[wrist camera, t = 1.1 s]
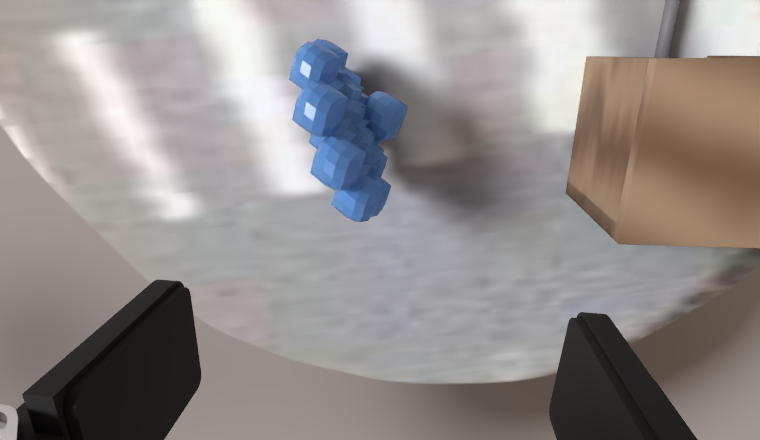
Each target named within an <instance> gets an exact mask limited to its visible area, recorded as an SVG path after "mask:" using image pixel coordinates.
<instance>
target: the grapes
mask: <svg viewBox="0 0 760 440" xmlns="http://www.w3.org/2000/svg"><path fill="white" fill-rule="evenodd" d="M347 56H348V53H346V52H345V51H344V50H342V49H341V48H339V47H338V46H336V45H335V44H333V43H331V42H329V41H327V40H322V39H317V40H315V41H314V42H307V43H306V44H304V45H303V46H301V47H300V48H299V49H298V51H297V53H296V55H295V57H294V59H293V64H292V69H291V74H290V79H289V80H291V81H292V82H293V83H294V84H296V85H297V86H298V87H300V88H302V89H301V91H300V94H299V96H298V98H297V101H296V105H295V110H294V115H293V119H292V120H293V121H295V122H296V123H297V124H298V125H299V126H301V127H302V128H303V129H305V130H306V131H308V132H310V133H311V137H310V141H309V143H310V144H311V145H313V146H314V147H315V148H316V149H317V151H316V154H315V156H314V160H313V163H312V168H311V172H310V173H311V174H312V175H314V176H315V177H316V178H317V179H318V180H320V181H321V182H322V183H323V184H324V185H326V186H328V187H330V188H332V189H333V190H335V193H334V196H333V200H332V204H331V205H333V206H334V207H335V208H336V209H337V210H338V211H340V212H341V213H342V214H343V215H344V216H345V217H347V218H349V219H351V220H353V221H356V222H363V221H368V220H369V219H370V217H372V216H377V215H378V214H379V212H380V211H381V210H382V208H383V207H384V205H385V203H386V200H387V197H388V194H389V191H390V188H391V185H390V184H388V183H387V182H386V181H385V180H383V179H382V178H381V176H382V173H383V170H384V168H385V165H386V161H387V158H388V157H386V156H385V155H384V154H383V153H384V149H382V148H381V147H380V146H381V143H382V140H390V139H393V137H394V136H395V135H396V134H397V133H398V131H399V129H400V127H401V125H402V122H403V119H404V117H405V113H406V110H407V106H406V105H405V104H403V103H402V102H401V101H399V100H398V99H396V98H394V97H393V96H391V95H389V94H387V93H385V92H380V91H376V92H374V93H372V94H371V95H370V96H367V95H366V94H364V93H363V92H362V91H363V89H364V87H363V86H361V85H360V84H361V80H362V78H361V77H359V76H358V75H357V74H356V73H354V72H352V71H351V70H349V69H348V68H346V67H345V64H346V60H347Z"/></svg>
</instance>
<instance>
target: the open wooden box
mask: <svg viewBox="0 0 760 440" xmlns="http://www.w3.org/2000/svg"><path fill="white" fill-rule="evenodd" d="M566 194H567V195H569V196H570V197H571V198H572V199H573V200H574V201H575V202H576V203H577V204H578V205H579V206H580V207H581V208H582V209H583V210H584V211H585V212H586V213H587V214H588V215H589V216H590V217H591V218H592V219H593V220H594V221H595V222H596V223H597V224H598V225H599V226H601V227H602V228H603V229H604V230H605V231H606V232H607V233H608V234H609V235H610V236H611V237H612V238H613V239H614V240H615V241H616V242H617V243H618V244H630V245H666V246H701V247H737V248H760V56H707V58H639V57H587V58H586V65H585V71H584V78H583V84H582V91H581V97H580V104H579V111H578V117H577V124H576V130H575V137H574V143H573V150H572V156H571V163H570V170H569V176H568V183H567V189H566Z"/></svg>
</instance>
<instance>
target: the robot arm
mask: <svg viewBox="0 0 760 440" xmlns="http://www.w3.org/2000/svg"><path fill="white" fill-rule="evenodd" d="M200 381H201V368H200V362H199V354H198V347H197V339H196V333H195V326H194V317H193V310H192V303H191V296H190V291H189V289H188V288H185V287H184V285H183V284H182V283H181V282H180V281H169V280H155V281H154V282H152V283H151V284H150V285H149V286H148V287H147V288H145V289H144V290H143V291H142V292H141V293H140V294H138V295H137V296H136V297H135V298H134V299H133V300H131V301H130V302H129V303H128V304H127V305H126V306H124V308H122V309H121V310H120V311H119V312H118V313H116V314H115V315H114V316H113V317H112V318H110V319H109V320H108V321H107V322H106V323H105V324H104V325H102V326H101V327H100V328H99V329H98V330H96V331H95V332H94V333H93V334H92V335H91V336H89V337H88V338H87V339H86V340H85V341H84V342H83V343H81V344H80V345H79V346H78V347H77V348H75V349H74V350H73V351H72V352H71V353H70V354H69V355H67V356H66V357H65V358H64V359H63V360H61V362H59V363H58V364H57V365H56V366H54V368H52V369H51V370H50V371H49V372H47V373H46V374H45V375H44V376H43V377H42V378H40V379H39V380H38V381H37V382H36V383H35V384H34V385H32V386H31V387H30V388H29V389H28V390H26V391H25V392H24V393H23V394H22V395H23V398H24V401H25V402H24V403H23V404H22V405H21V406H20V407H19V408H18V409H16V410H15V409H13V408H12V407H11V406H7V405H2V404H0V440H164V439H165V437H166V436H167V434H168V433H169V431H170V430H171V428H172V427H173V425H174V424H175V422H176V421H177V419H178V418H179V416H180V415H181V413H182V412H183V410H184V409H185V407H186V406H187V404H188V403H189V401H190V400H191V398H192V397H193V395H194V394H195V392H196V391H197V389H198V387H199V384H200ZM549 413H550V420H551V424H552V426H553V430H554V432H555V435H556V438H557V440H697V439H696V437H695V436H694V434H693V433H692V432H691V430H690V429H689V427H688V426H687V425H686V423H685V422H684V420H683V419H682V418H681V416H680V415H679V413H678V412H677V410H676V409H675V408H674V406H673V405H672V403H671V402H670V401H669V399H668V398H667V396H666V395H665V394H664V392H663V391H662V389H661V388H660V387H659V385H658V384H657V383H656V381H655V380H654V379H653V378H652V377H651V375H650V374H649V373H648V371H647V370H646V368H645V367H644V366H643V364H642V363H641V361H640V360H639V358H638V357H637V356H636V354H635V353H634V351H633V350H632V349H631V347H630V346H629V344H628V343H627V341H626V340H625V339H624V337H623V336H622V334H621V333H620V332H619V330H618V329H617V327H616V326H615V325H614V323H613V322H612V320H611V319H610V318H609V317H608V316H607V315H606V314H597V313H584V312H581V313H579V314H578V316H577V318H571V319H570V320H569V323H568V327H567V332H566V336H565V341H564V345H563V349H562V354H561V358H560V363H559V367H558V372H557V376H556V381H555V385H554V389H553V394H552V398H551V402H550V410H549Z"/></svg>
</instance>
